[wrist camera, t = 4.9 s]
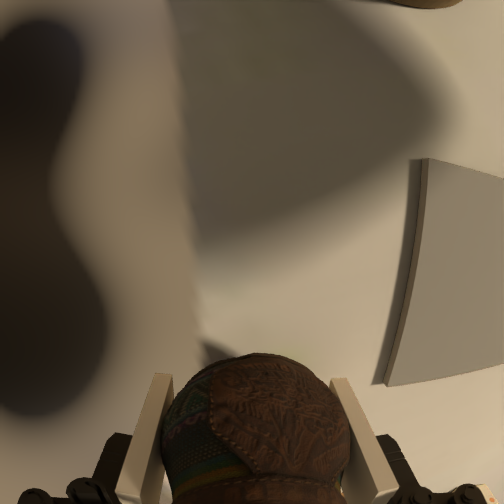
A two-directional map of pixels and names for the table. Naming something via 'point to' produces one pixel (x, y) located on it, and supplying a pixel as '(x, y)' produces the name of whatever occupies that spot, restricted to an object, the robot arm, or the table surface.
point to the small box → (486, 494)
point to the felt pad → (453, 279)
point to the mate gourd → (255, 435)
